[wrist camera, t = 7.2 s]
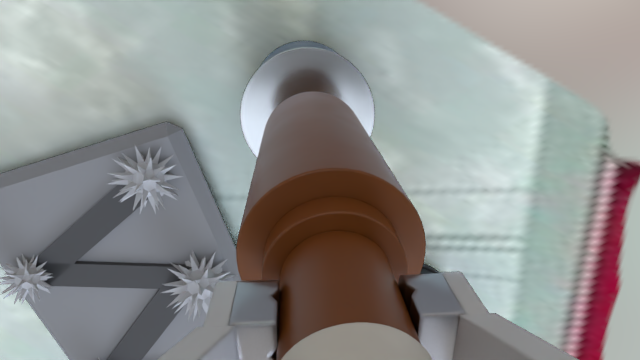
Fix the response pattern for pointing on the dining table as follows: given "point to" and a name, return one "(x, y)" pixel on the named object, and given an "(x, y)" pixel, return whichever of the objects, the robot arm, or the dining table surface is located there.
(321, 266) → the bottle
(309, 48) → the tin can
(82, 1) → the dining table surface
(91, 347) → the decorative plate
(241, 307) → the robot arm
